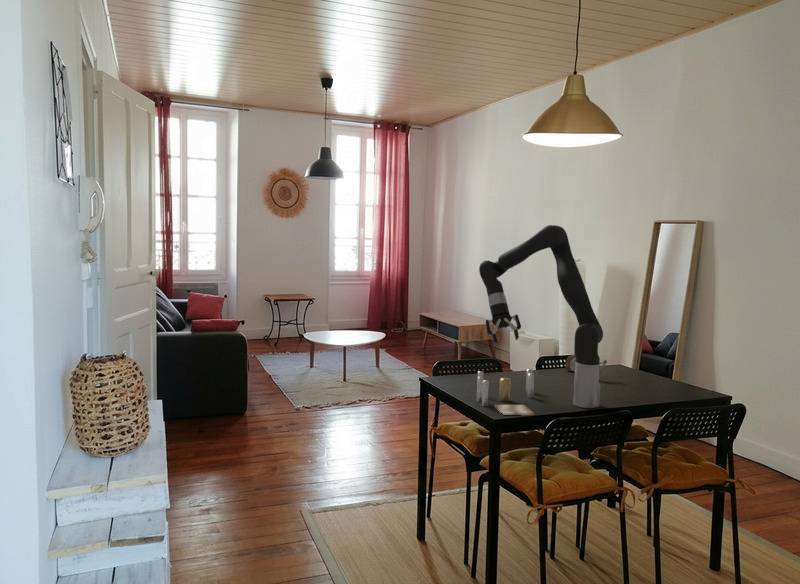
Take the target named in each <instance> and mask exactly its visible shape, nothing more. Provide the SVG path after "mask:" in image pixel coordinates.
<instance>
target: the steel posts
mask: <svg viewBox="0 0 800 584" xmlns="http://www.w3.org/2000/svg"><path fill="white" fill-rule="evenodd" d="M525 375H526V377H525V378H526V379H525V393H526V397H527V398H528V399H533V398H534V388H535V387H534V385H535V373H534V372H533V368H526V374H525ZM476 383H477V384H476V402H477V403H481V407H485V406H486V407H488V406H489V389H490V388H489V387H490V381H489V379H484V371H482V370H481V371H480V370H478V371H477V380H476Z"/></svg>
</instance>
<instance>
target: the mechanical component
mask: <svg viewBox="0 0 800 584" xmlns="http://www.w3.org/2000/svg"><path fill="white" fill-rule="evenodd" d="M607 363H608V359H603V360H602V362H600V364H599V369H603V368H606V367H605V366H606V365H607Z"/></svg>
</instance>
